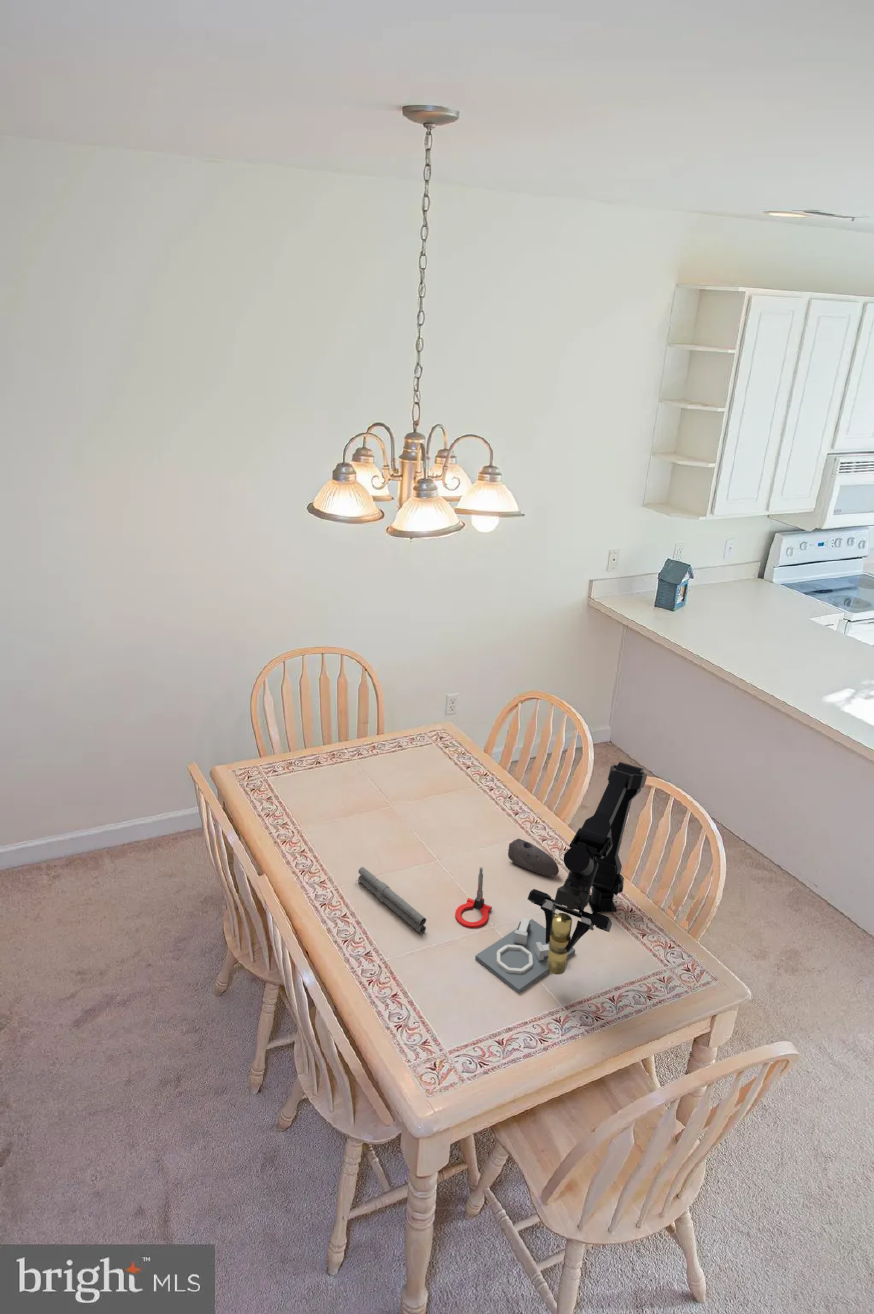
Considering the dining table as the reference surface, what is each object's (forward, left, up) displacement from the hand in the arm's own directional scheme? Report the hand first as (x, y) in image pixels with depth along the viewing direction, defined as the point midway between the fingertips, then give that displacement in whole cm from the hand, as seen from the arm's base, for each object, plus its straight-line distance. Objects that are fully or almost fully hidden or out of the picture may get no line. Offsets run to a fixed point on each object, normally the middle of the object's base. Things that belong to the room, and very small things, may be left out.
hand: (557, 947), depth 195 cm
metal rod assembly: (-32, -34, -13) cm, 49 cm away
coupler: (-1, +1, -7) cm, 7 cm away
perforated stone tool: (-44, +7, -13) cm, 46 cm away
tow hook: (-27, -13, -13) cm, 33 cm away
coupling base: (-11, -3, -13) cm, 17 cm away
